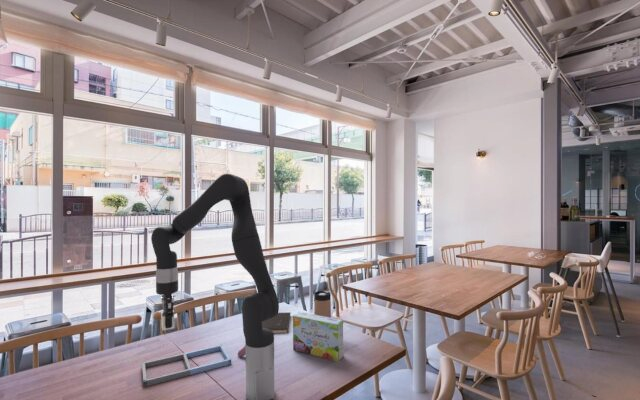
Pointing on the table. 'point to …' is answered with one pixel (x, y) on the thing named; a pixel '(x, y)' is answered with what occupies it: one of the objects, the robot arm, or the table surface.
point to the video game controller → (242, 352)
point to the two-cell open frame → (188, 369)
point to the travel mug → (322, 304)
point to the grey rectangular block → (164, 320)
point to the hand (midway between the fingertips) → (168, 325)
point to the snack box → (318, 335)
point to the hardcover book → (277, 323)
